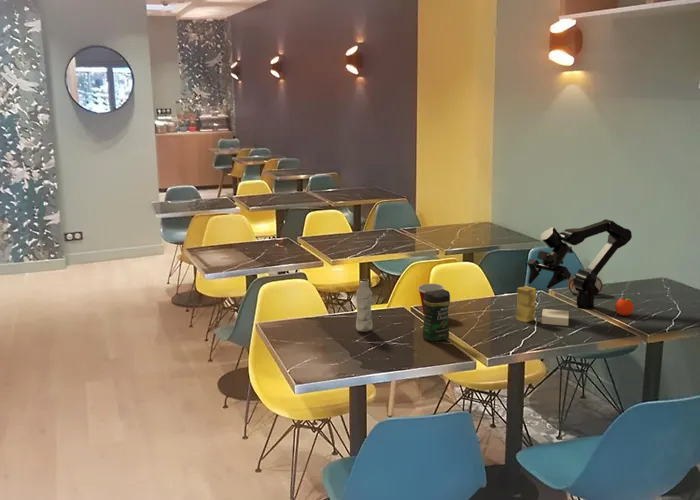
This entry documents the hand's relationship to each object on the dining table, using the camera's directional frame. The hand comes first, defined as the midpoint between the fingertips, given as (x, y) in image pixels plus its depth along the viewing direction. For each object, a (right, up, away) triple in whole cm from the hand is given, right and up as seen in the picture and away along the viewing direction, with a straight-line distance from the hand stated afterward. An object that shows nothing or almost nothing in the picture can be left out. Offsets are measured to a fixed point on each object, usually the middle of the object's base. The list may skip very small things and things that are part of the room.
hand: (538, 285), depth 287 cm
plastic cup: (-43, -13, +5) cm, 45 cm away
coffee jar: (-44, -19, -22) cm, 53 cm away
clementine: (+36, -12, +3) cm, 38 cm away
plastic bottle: (-70, -17, -13) cm, 74 cm away
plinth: (+6, -14, -3) cm, 15 cm away
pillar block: (-6, -14, -1) cm, 15 cm away
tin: (+30, -6, +34) cm, 45 cm away
